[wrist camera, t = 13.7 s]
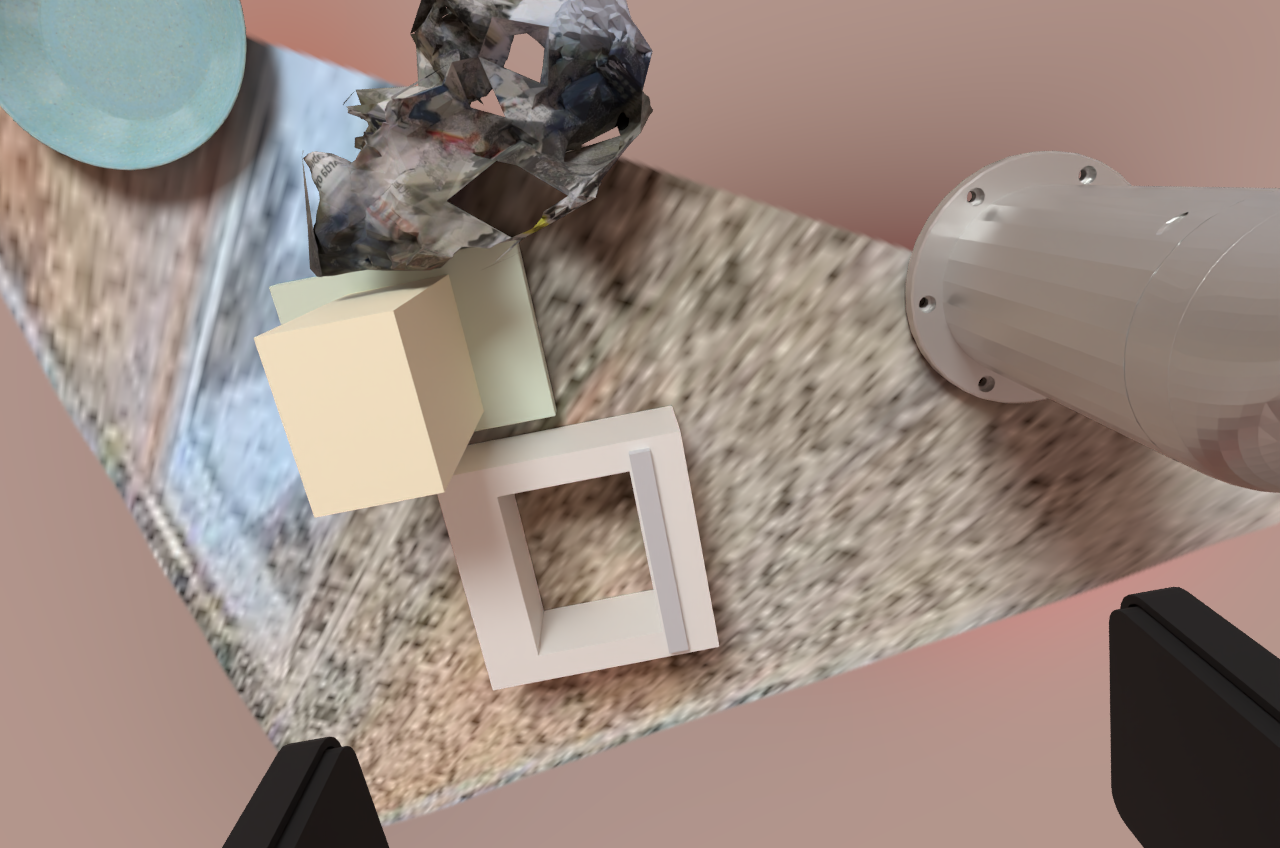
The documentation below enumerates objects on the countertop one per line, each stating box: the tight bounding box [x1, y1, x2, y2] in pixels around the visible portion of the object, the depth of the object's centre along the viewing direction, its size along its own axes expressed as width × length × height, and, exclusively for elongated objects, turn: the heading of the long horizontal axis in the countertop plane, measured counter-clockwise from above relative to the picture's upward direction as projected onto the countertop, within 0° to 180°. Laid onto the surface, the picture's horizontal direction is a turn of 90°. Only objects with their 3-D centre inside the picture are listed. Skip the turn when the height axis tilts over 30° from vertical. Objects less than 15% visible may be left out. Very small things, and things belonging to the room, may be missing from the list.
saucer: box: [0, 0, 247, 171], centre depth 35 cm, size 12×12×2 cm
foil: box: [302, 0, 653, 277], centre depth 35 cm, size 12×11×15 cm
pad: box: [269, 240, 557, 432], centre depth 40 cm, size 12×9×1 cm
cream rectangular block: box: [254, 274, 484, 517], centre depth 34 cm, size 5×7×11 cm
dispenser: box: [437, 406, 719, 690], centre depth 42 cm, size 12×12×5 cm
